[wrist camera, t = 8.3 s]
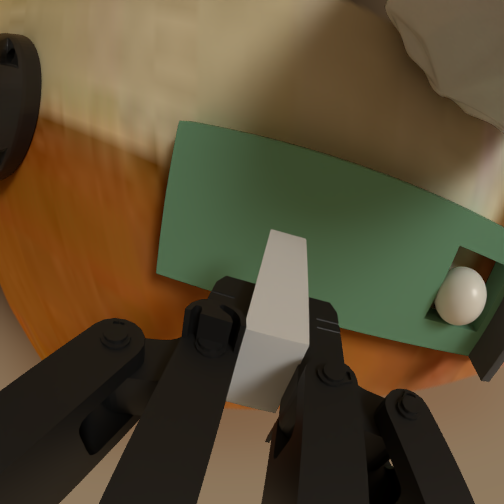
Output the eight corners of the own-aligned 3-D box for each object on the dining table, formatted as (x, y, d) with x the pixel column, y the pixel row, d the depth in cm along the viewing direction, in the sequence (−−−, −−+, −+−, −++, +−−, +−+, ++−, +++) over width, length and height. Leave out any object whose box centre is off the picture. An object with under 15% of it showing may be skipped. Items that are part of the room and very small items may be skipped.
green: (167, 261, 22) (67, 370, 11) (191, 121, 18) (51, 122, 7) (485, 346, 20) (537, 447, 9) (537, 246, 16) (627, 323, 5)
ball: (416, 312, 18) (461, 344, 15) (442, 259, 16) (492, 291, 13) (435, 299, 20) (473, 326, 18) (457, 253, 19) (499, 280, 16)
